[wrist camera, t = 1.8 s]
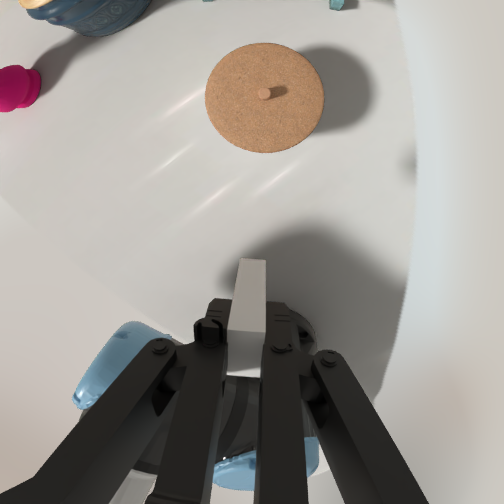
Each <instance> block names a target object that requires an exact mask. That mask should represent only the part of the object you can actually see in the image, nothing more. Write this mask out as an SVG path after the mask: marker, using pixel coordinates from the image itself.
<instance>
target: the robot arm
mask: <svg viewBox="0 0 504 504" xmlns="http://www.w3.org/2000/svg"><path fill="white" fill-rule="evenodd" d="M194 339H195V341H194V342H192V343H189V344H185V345H184V344H182V343H180V342H178V341H177V340H175V339H173V338H172V336H170V335H169V334H163V333H161V332H159V331H157V330H155V329H153V328H151V327H149V326H147V325H145V324H144V323H141V322H138V321H131V322H128V323H125V324H124V325H122V326H121V327H120V328H119V329H118V330H117V331H116V332H115V333H114V334H113V336H112V337H111V338H110V339H109V341H108V342H107V343H106V344H105V346H104V347H103V348H102V350H101V351H100V352H99V354H98V355H97V357H96V358H95V360H94V361H93V362H92V364H91V365H90V367H89V368H88V370H87V371H86V373H85V374H84V376H83V377H82V379H81V381H80V383H79V384H78V386H77V388H76V391H75V393H74V395H73V397H72V400H73V402H74V404H76V405H77V408H79V409H82V410H83V412H82V414H81V417H80V419H79V422H78V423H77V425H76V426H75V427H74V428H73V429H72V431H71V432H70V433H69V435H67V437H66V438H65V439H64V440H63V441H62V443H61V444H60V445H59V446H58V447H57V449H56V450H55V451H54V453H53V454H52V455H51V456H50V457H49V458H48V460H47V461H46V462H45V463H44V464H43V466H42V467H41V468H40V470H39V471H38V472H37V473H36V474H35V476H34V477H33V478H31V479H29V480H27V481H25V482H23V483H21V484H19V485H17V486H15V487H13V488H11V489H9V490H7V491H5V492H3V493H1V494H0V504H142V503H143V502H144V500H145V498H146V496H147V494H148V492H149V490H150V488H151V487H152V485H153V483H154V481H155V479H156V478H157V479H156V483H155V487H154V490H153V492H152V493H151V494H150V495H148V497H147V499H146V501H145V504H210V497H211V490H212V482H213V483H214V484H217V485H218V486H221V487H223V488H228V489H234V490H247V491H254V504H309V502H308V486H307V478H308V477H309V476H310V475H312V474H313V473H314V472H315V470H316V469H317V467H318V464H319V443H320V445H321V448H322V450H323V453H324V455H325V457H326V460H327V462H328V465H329V467H330V469H331V472H332V474H333V477H334V479H335V481H336V483H337V486H338V488H339V491H340V493H341V495H342V498H343V500H344V503H345V504H429V503H428V501H427V500H426V497H425V496H424V494H423V492H422V490H421V489H420V487H419V485H418V483H417V481H416V480H415V478H414V476H413V474H412V473H411V471H410V469H409V467H408V465H407V464H406V462H405V460H404V459H403V457H402V455H401V453H400V452H399V450H398V448H397V446H396V445H395V443H394V441H393V440H392V438H391V436H390V435H389V433H388V431H387V429H386V428H385V426H384V424H383V423H382V421H381V419H380V417H379V416H378V414H377V412H376V411H375V409H374V407H373V406H372V404H371V402H370V401H369V399H368V397H367V396H366V394H365V392H364V391H363V389H362V387H361V386H360V384H359V382H358V381H357V379H356V377H355V376H354V374H353V372H352V371H351V369H350V368H349V366H348V364H347V363H346V361H345V359H344V358H343V357H342V356H341V355H340V354H339V353H337V352H336V351H332V350H321V351H318V352H317V343H316V338H315V333H314V331H313V328H312V327H311V325H310V324H309V322H308V321H307V320H306V319H305V318H303V317H302V316H301V315H299V314H298V313H296V312H294V311H291V310H289V308H288V307H287V306H286V304H285V303H280V302H266V260H259V259H246V258H240V262H239V267H238V273H237V278H236V284H235V289H234V295H233V300H230V299H218V298H215V299H213V300H212V301H211V302H210V303H209V306H208V309H207V312H206V316H205V318H202V319H199V320H198V321H196V322H195V324H194Z"/></svg>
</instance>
